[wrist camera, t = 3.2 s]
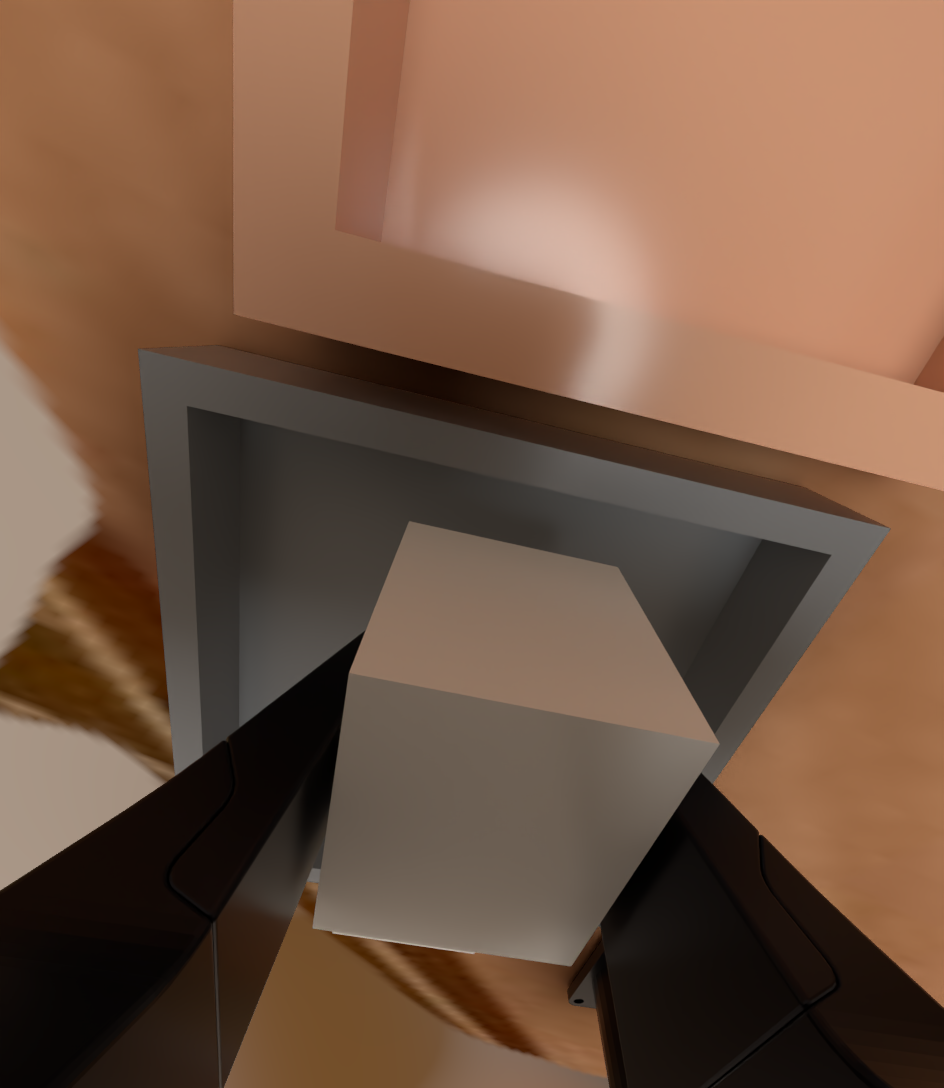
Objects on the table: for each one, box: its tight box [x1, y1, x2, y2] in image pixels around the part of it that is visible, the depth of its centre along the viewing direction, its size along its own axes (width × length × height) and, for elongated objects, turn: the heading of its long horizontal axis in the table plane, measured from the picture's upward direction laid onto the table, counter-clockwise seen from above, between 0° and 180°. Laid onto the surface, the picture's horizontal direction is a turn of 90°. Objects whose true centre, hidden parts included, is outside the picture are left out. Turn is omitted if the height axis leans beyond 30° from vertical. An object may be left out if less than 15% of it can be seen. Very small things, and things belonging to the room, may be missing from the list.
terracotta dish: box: [233, 0, 944, 491], centre depth 6 cm, size 11×14×4 cm
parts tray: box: [138, 345, 890, 927], centre depth 13 cm, size 16×15×3 cm
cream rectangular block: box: [313, 521, 720, 966], centre depth 7 cm, size 5×4×4 cm
